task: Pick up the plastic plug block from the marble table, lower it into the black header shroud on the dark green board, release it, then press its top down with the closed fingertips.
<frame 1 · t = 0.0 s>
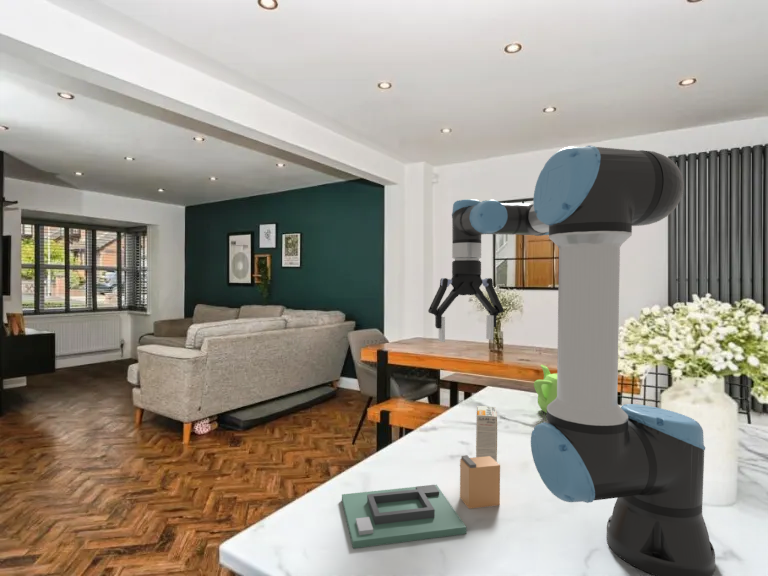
hand: (466, 340, 117), 28 cm above the kitchen island, fingers open, 13 cm apart
supplement box: (486, 465, 106), on the kitchen island
plug: (479, 501, 89), on the kitchen island
teapot: (564, 412, 147), on the kitchen island
header board: (399, 515, 83), on the kitchen island
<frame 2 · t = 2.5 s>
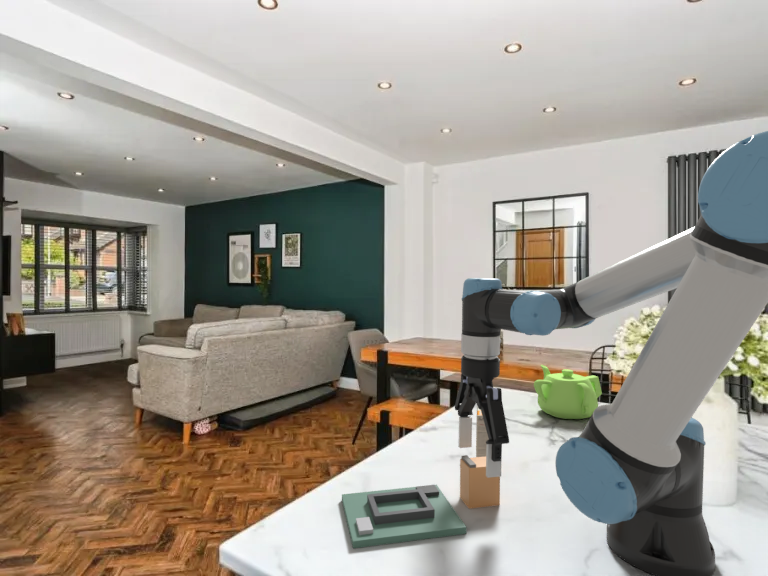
hand: (478, 460, 89), 8 cm above the kitchen island, fingers open, 13 cm apart
nothing on the kitchen island moved.
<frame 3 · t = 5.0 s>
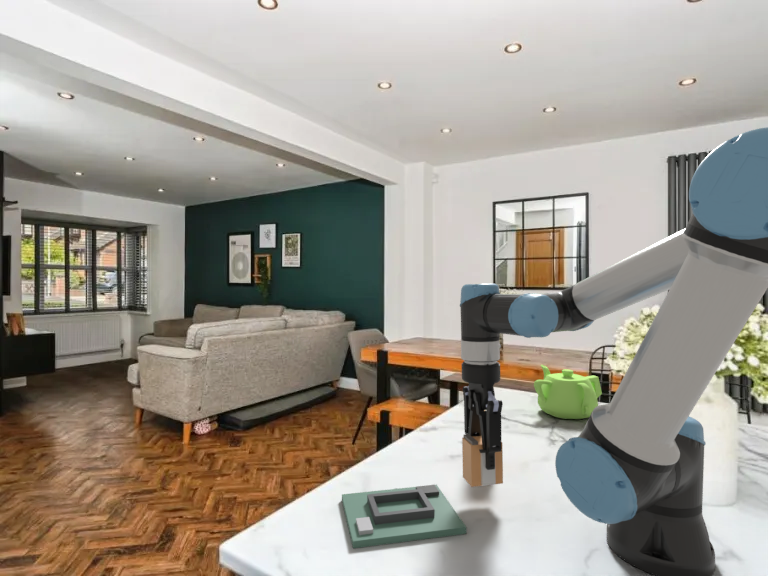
hand: (482, 478, 88), 5 cm above the kitchen island, fingers closed on plug, 4 cm apart
plug: (482, 480, 88), point 5 cm above the kitchen island, touching gripper
everything else where it was.
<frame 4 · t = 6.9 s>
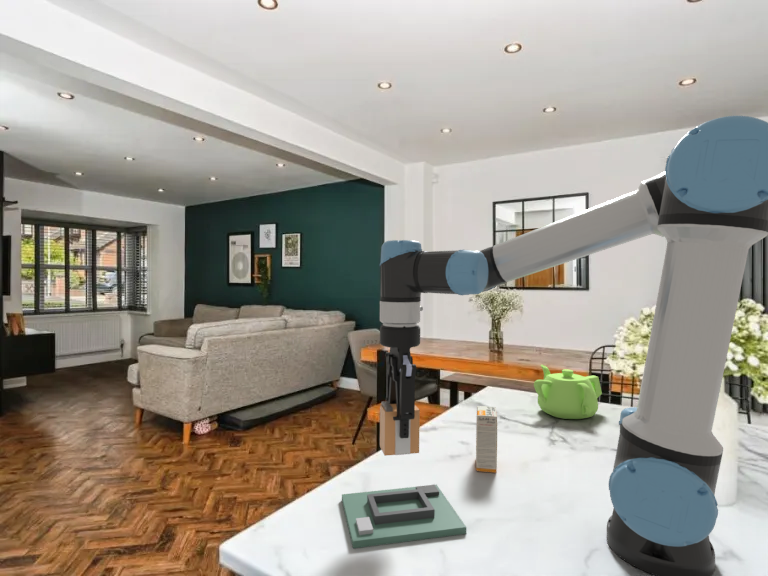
hand: (399, 447, 83), 13 cm above the kitchen island, fingers closed on plug, 4 cm apart
plug: (399, 449, 83), point 13 cm above the kitchen island, touching gripper
everything else where it was.
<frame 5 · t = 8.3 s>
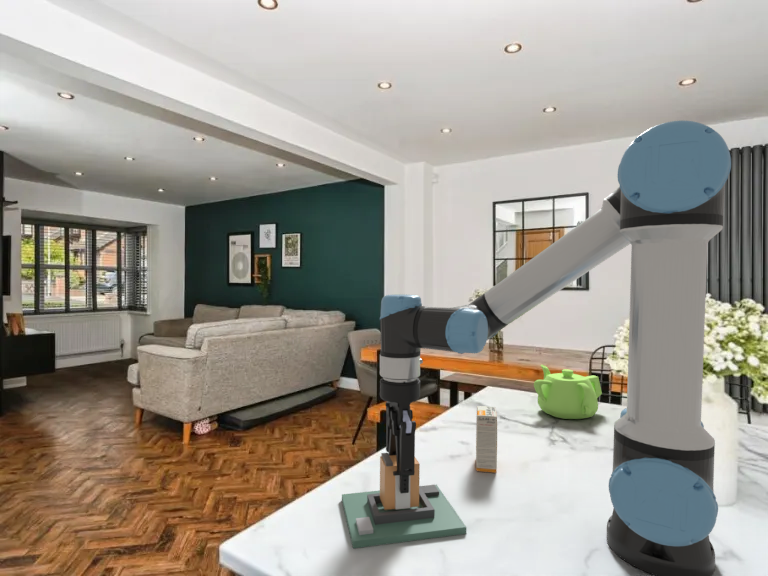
hand: (399, 500, 83), 3 cm above the kitchen island, fingers closed on plug, 4 cm apart
plug: (399, 501, 83), point 3 cm above the kitchen island, touching gripper
everything else where it was.
when the fingers open (3 cm above the kitchen island, at t = 9.8 s): plug stays where it is, resting on header board.
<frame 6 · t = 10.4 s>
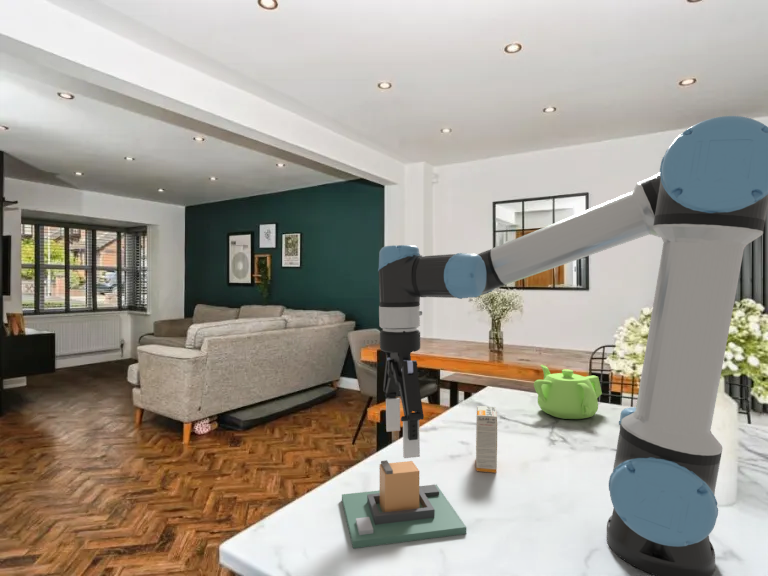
hand: (401, 442, 83), 14 cm above the kitchen island, fingers open, 13 cm apart
plug: (399, 509, 83), point 1 cm above the kitchen island, touching header board
everything else where it was.
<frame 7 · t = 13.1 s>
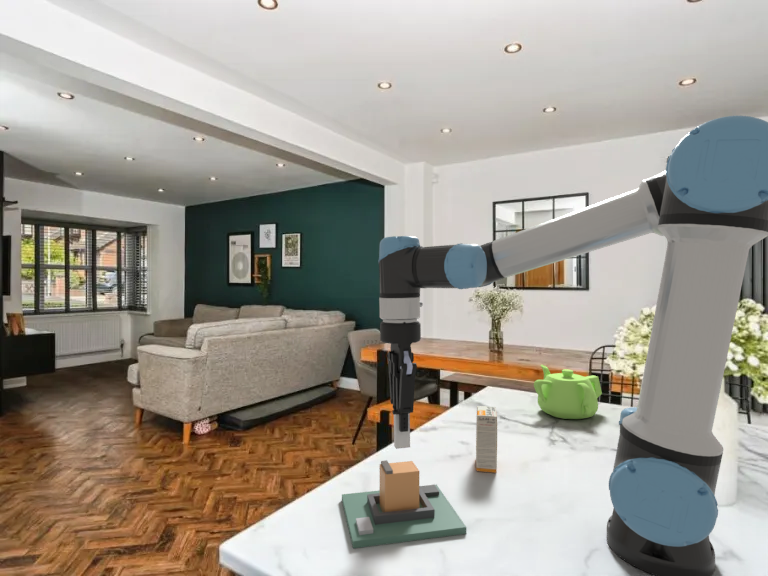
hand: (402, 446, 83), 13 cm above the kitchen island, fingers closed
nothing on the kitchen island moved.
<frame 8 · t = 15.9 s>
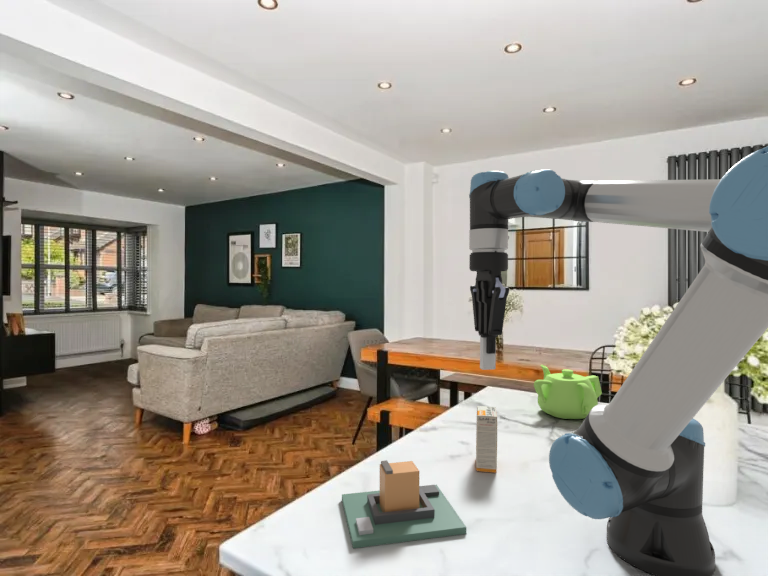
hand: (487, 368, 89), 26 cm above the kitchen island, fingers closed
nothing on the kitchen island moved.
at the end: plug 0.1 cm off-centre on the header board, point 1.2 cm above the header board's base; plug tilted 0°; the gripper is holding nothing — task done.
